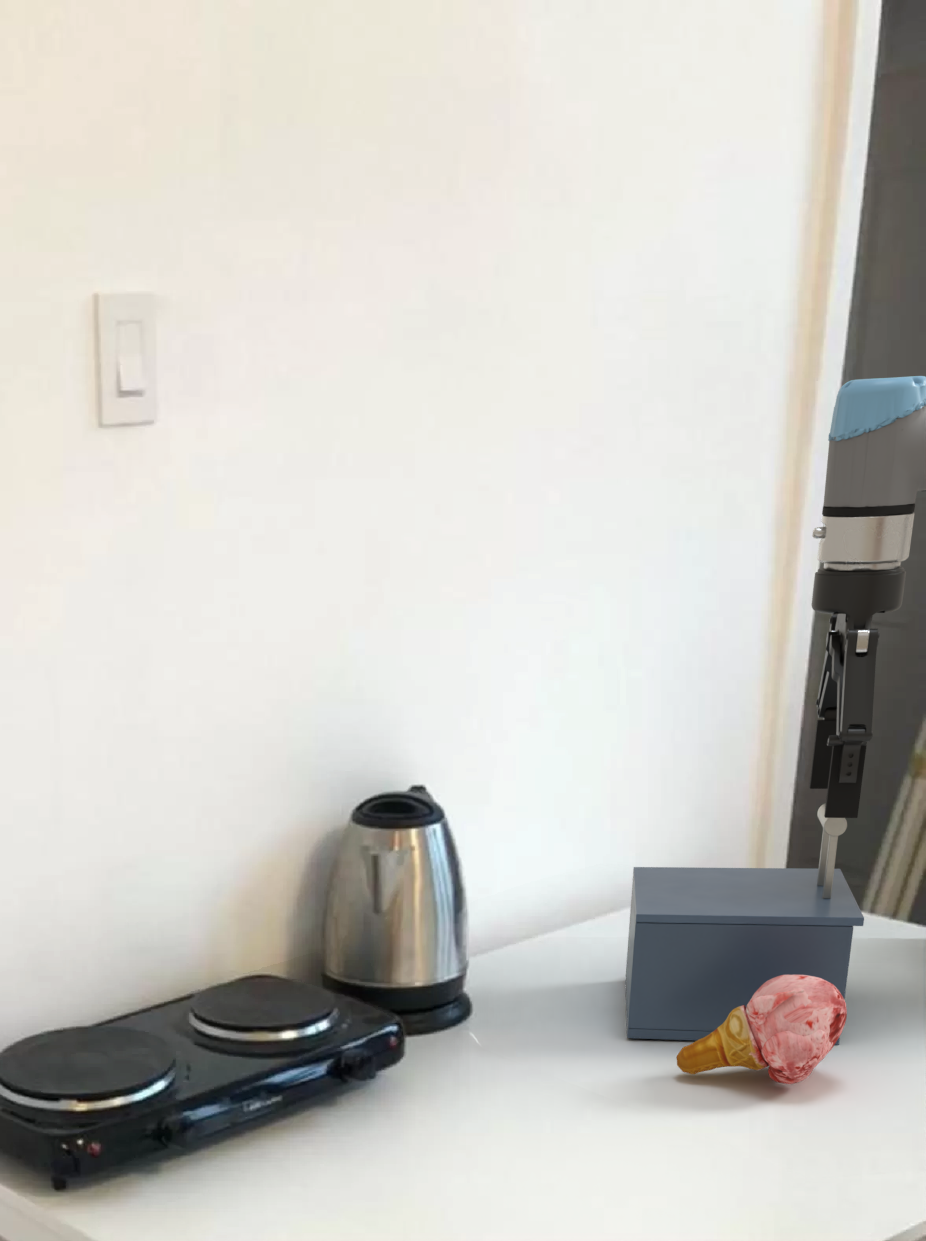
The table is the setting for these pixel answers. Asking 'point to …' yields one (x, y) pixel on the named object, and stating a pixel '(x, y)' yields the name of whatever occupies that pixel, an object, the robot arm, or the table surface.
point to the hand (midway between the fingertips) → (832, 802)
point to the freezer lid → (751, 892)
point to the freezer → (718, 970)
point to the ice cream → (774, 1031)
